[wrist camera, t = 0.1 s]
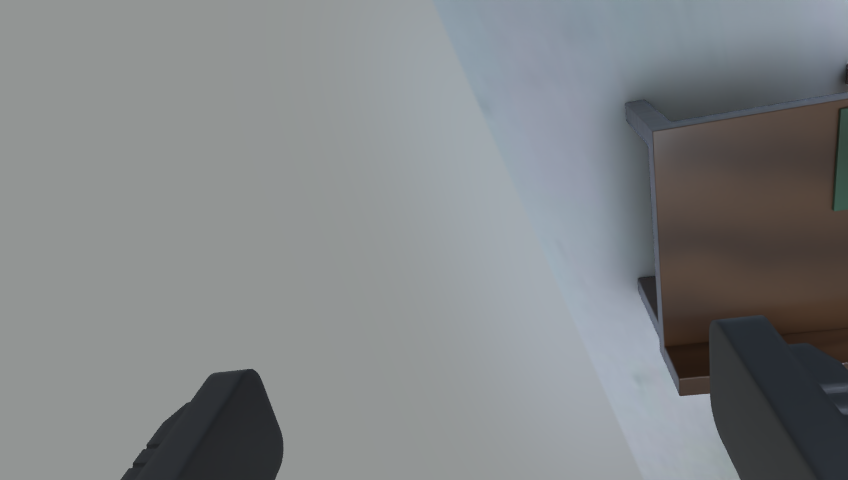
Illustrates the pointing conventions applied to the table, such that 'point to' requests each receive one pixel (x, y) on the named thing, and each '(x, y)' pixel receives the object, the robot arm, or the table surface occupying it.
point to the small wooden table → (747, 227)
